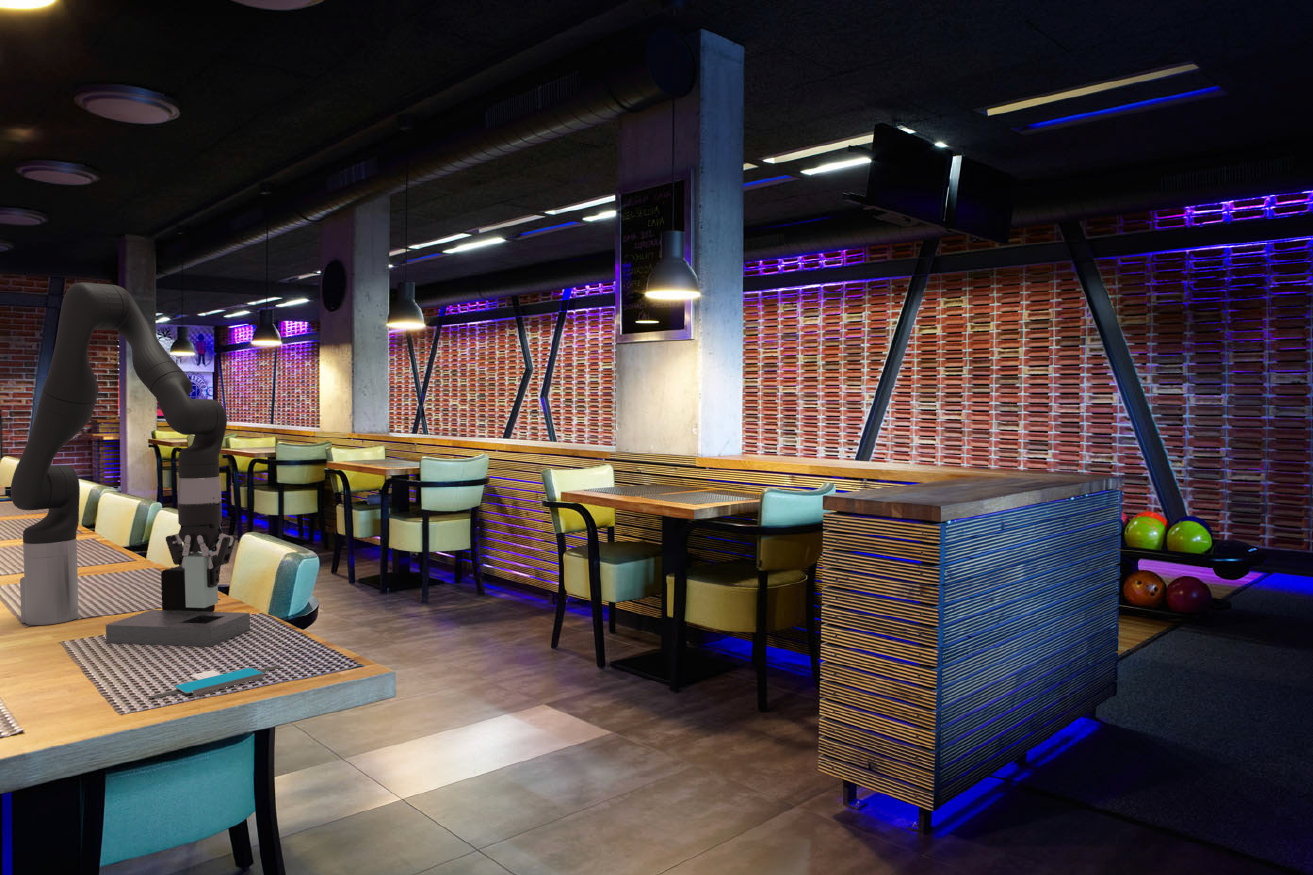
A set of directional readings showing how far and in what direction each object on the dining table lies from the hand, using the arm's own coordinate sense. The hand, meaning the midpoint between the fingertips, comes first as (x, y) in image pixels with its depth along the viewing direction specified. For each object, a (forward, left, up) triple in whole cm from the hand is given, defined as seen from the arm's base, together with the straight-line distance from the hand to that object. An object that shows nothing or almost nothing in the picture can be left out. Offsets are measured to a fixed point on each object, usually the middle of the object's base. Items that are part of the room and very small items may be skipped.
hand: (201, 586), depth 163 cm
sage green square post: (0, 0, -4) cm, 4 cm away
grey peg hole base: (-5, 0, -10) cm, 11 cm away
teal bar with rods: (+20, -24, -11) cm, 33 cm away
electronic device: (-16, +17, -10) cm, 26 cm away
